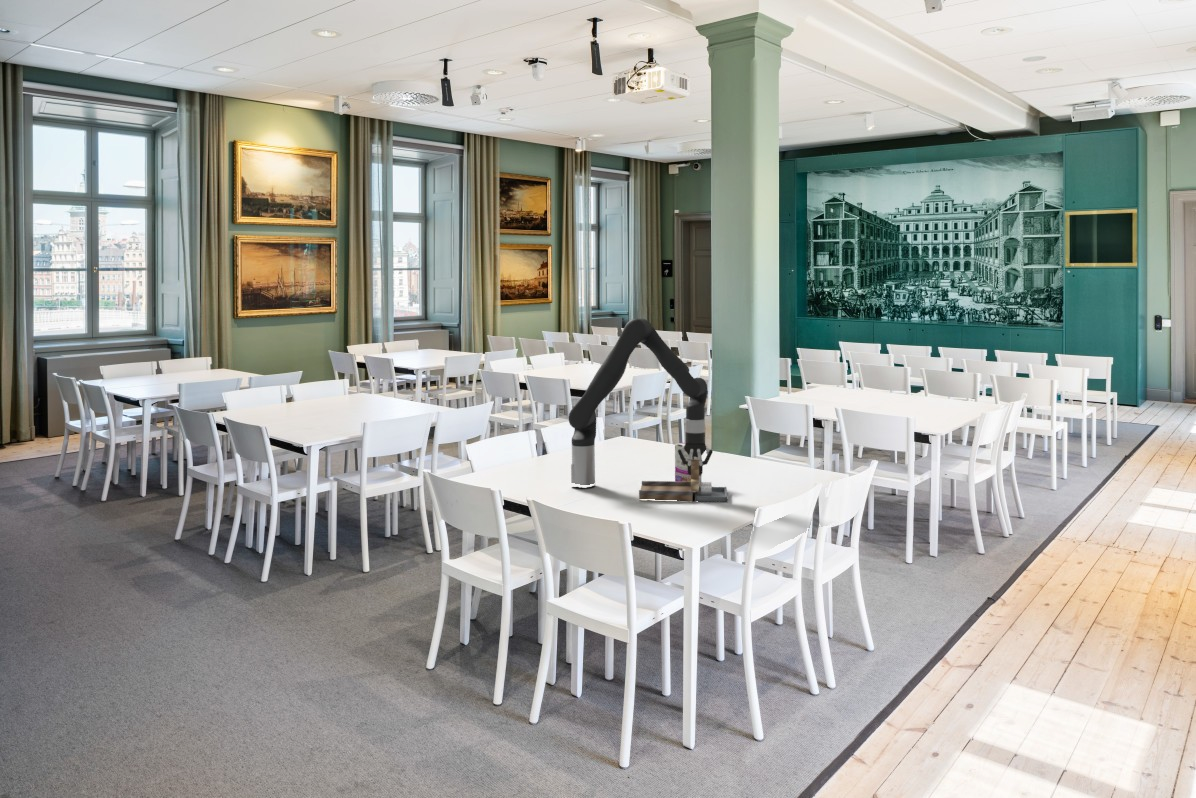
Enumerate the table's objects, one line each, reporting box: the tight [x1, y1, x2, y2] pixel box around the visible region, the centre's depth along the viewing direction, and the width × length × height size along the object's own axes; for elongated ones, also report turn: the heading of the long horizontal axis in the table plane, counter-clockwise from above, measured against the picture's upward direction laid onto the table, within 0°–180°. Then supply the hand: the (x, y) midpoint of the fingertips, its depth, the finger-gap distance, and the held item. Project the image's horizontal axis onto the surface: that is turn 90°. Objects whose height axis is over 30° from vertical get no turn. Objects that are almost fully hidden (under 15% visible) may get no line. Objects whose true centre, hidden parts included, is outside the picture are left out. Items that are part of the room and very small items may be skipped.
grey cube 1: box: [701, 481, 713, 487], centre depth 348 cm, size 4×4×4 cm
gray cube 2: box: [700, 485, 713, 497], centre depth 343 cm, size 4×4×4 cm
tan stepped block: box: [691, 459, 700, 493], centre depth 344 cm, size 3×11×11 cm, turn 173°
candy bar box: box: [674, 442, 703, 487], centre depth 364 cm, size 11×5×16 cm, turn 37°
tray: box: [694, 486, 728, 503], centre depth 345 cm, size 12×16×2 cm
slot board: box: [638, 480, 694, 502], centre depth 346 cm, size 20×16×4 cm
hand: (695, 474), depth 344 cm, fingers closed on tan stepped block, 3 cm apart
